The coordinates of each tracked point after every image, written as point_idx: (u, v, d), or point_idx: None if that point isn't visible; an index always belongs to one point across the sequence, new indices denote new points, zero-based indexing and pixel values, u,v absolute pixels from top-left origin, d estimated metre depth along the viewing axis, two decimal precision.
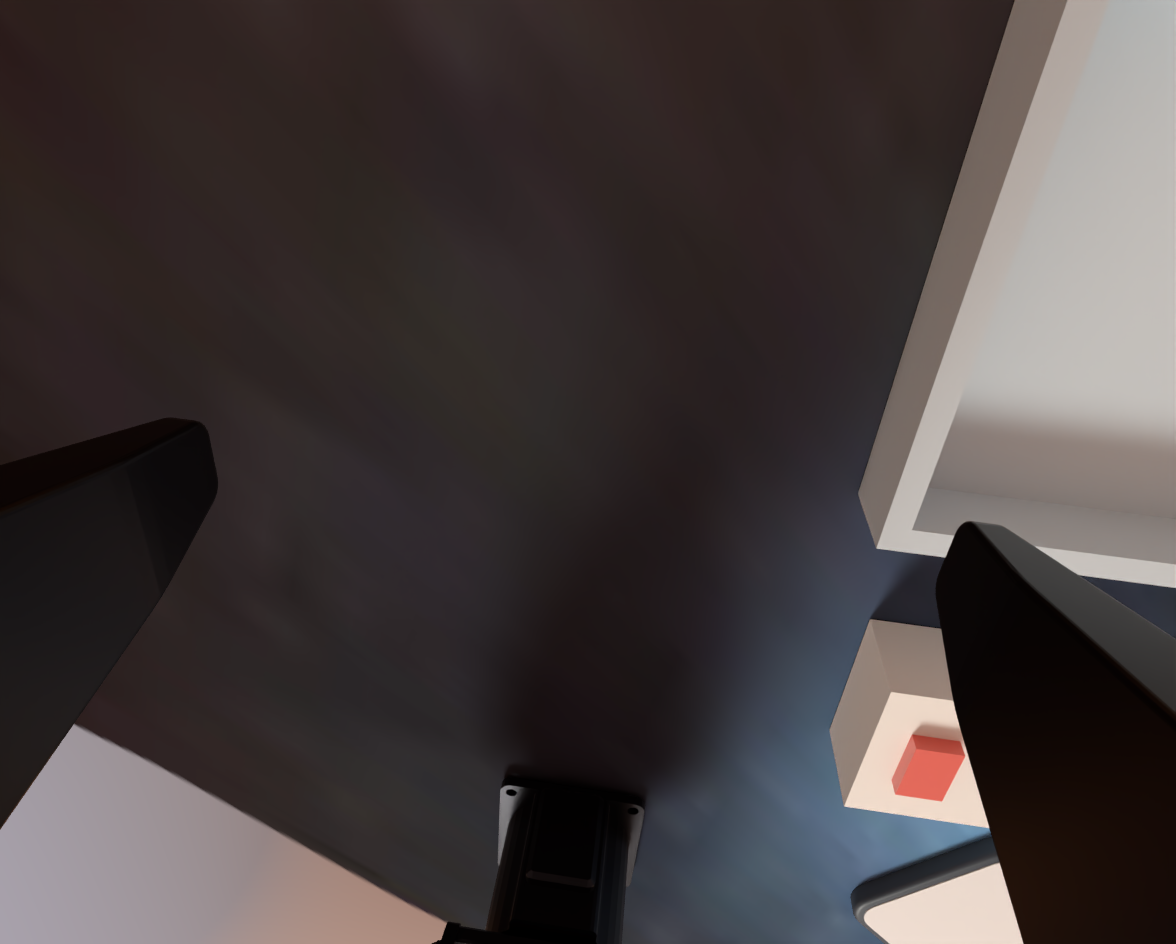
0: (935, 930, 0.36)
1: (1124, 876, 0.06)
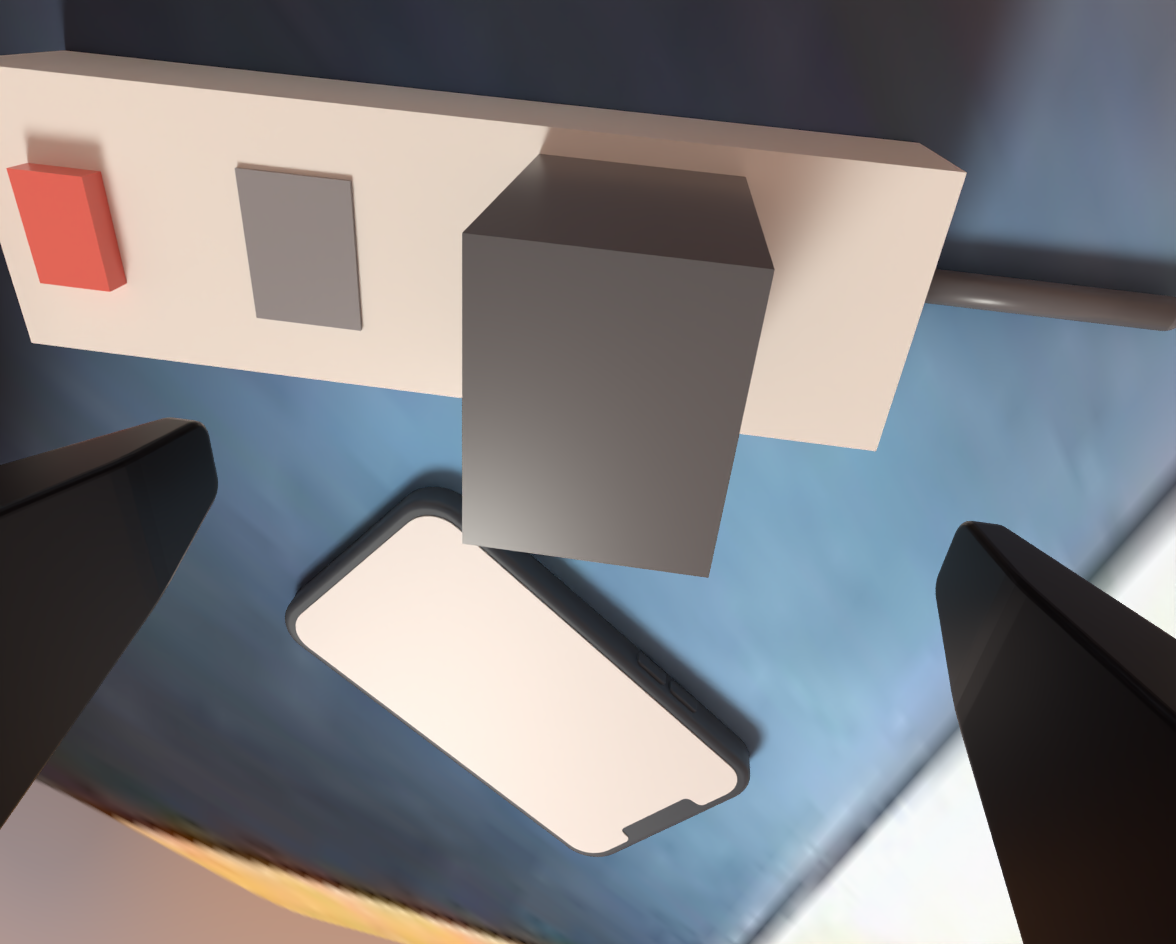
0: (393, 649, 0.26)
1: (1124, 876, 0.06)
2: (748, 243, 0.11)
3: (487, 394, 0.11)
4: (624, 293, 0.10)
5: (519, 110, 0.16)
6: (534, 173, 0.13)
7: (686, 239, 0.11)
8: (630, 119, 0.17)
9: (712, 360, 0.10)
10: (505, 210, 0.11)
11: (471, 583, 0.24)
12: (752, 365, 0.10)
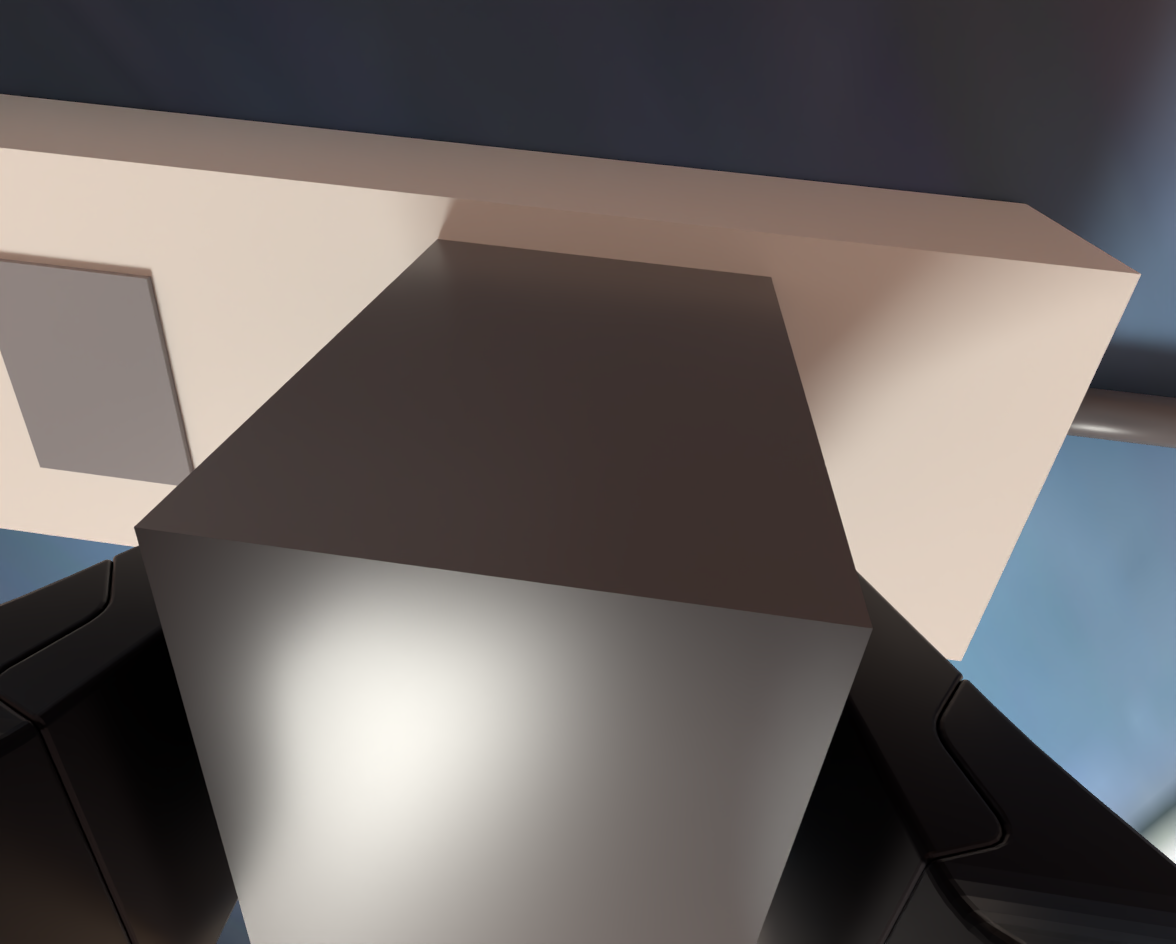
0: None
1: (799, 827, 0.06)
2: (797, 502, 0.05)
3: (258, 795, 0.05)
4: (517, 653, 0.04)
5: (419, 162, 0.11)
6: (407, 291, 0.08)
7: (664, 499, 0.05)
8: (591, 174, 0.11)
9: (720, 775, 0.05)
10: (293, 417, 0.05)
11: None
12: (810, 790, 0.05)
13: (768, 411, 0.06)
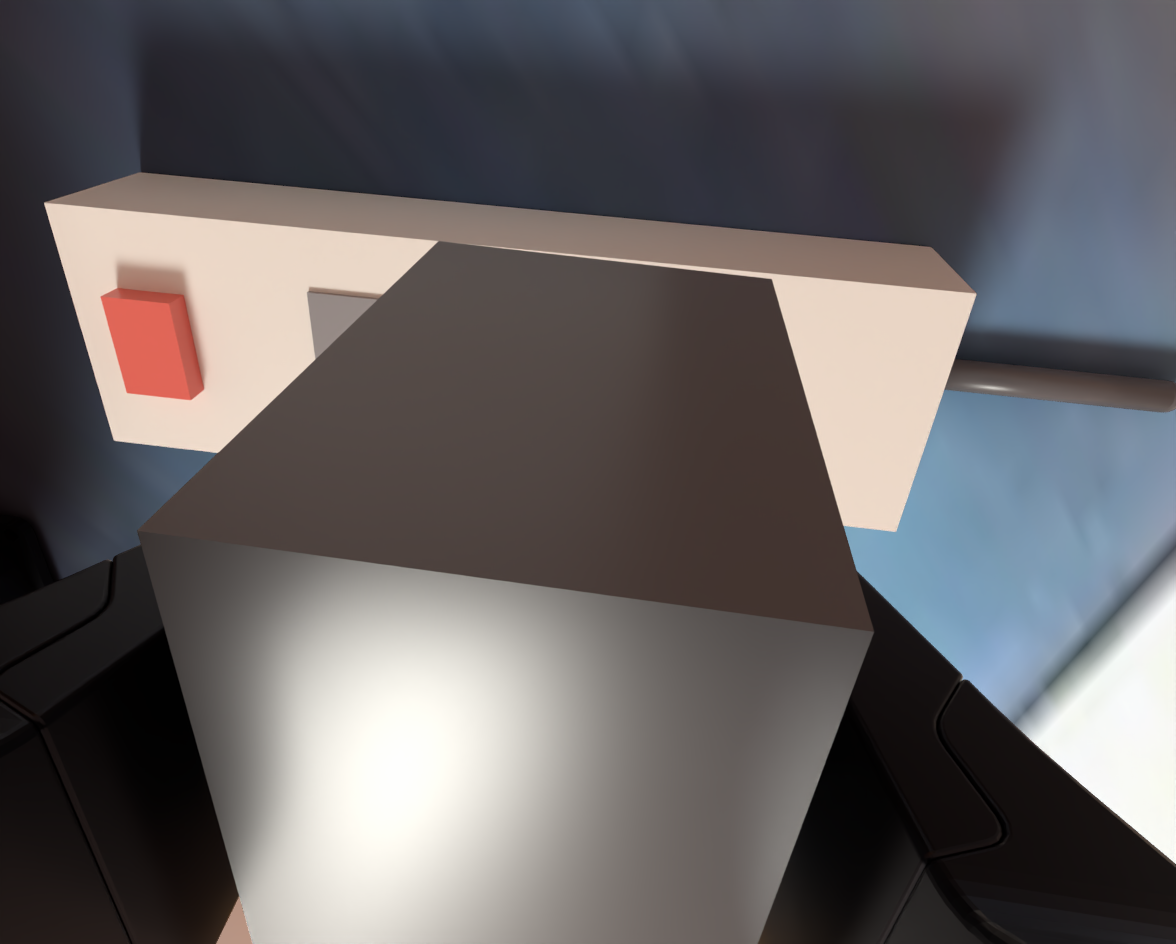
0: None
1: None
2: (798, 506, 0.05)
3: (260, 798, 0.05)
4: (519, 658, 0.04)
5: (563, 231, 0.18)
6: (409, 293, 0.08)
7: (665, 503, 0.05)
8: (664, 235, 0.18)
9: (721, 776, 0.05)
10: (296, 420, 0.05)
11: None
12: (811, 793, 0.05)
13: (769, 414, 0.06)
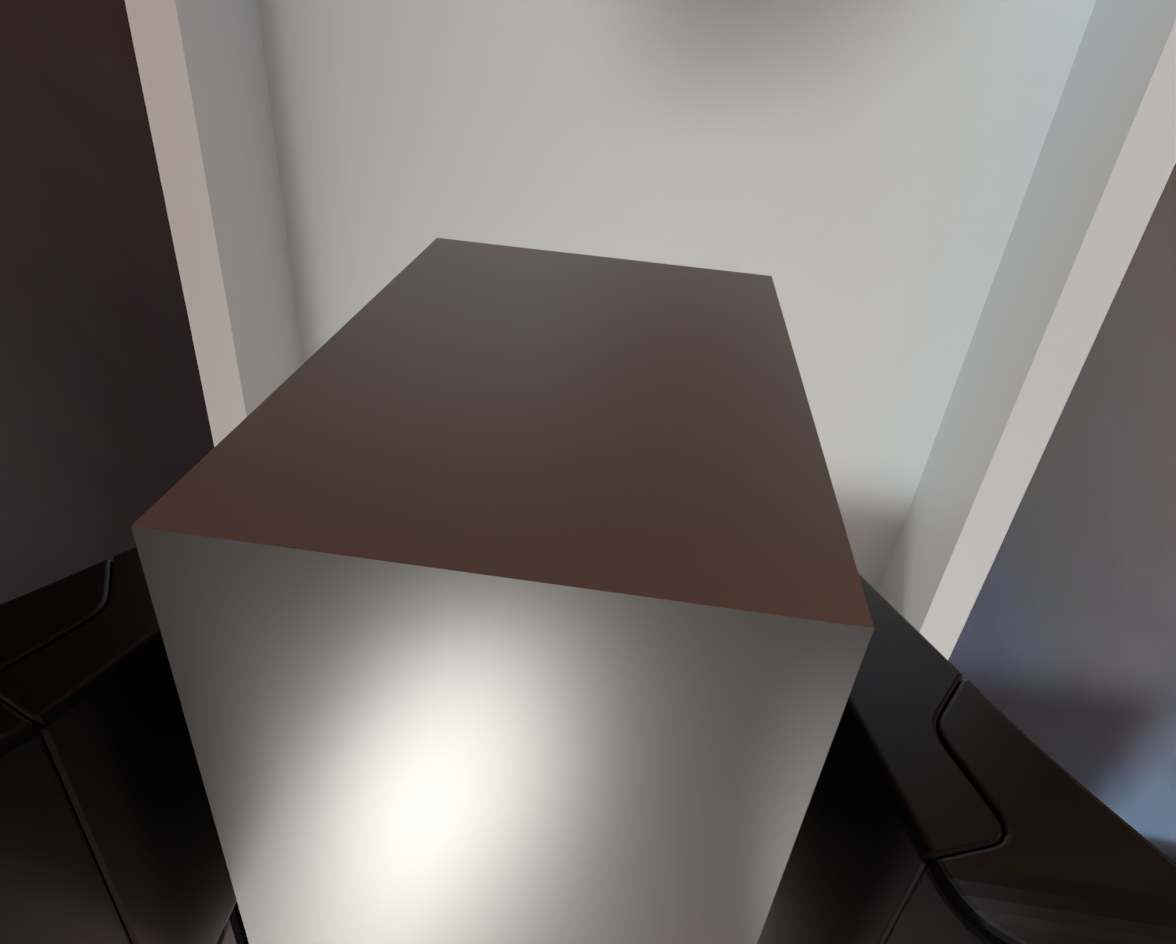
0: None
1: None
2: (797, 502, 0.05)
3: (256, 796, 0.05)
4: (517, 654, 0.04)
5: None
6: (406, 289, 0.08)
7: (663, 499, 0.05)
8: None
9: (720, 773, 0.05)
10: (292, 416, 0.05)
11: None
12: (810, 791, 0.05)
13: (768, 410, 0.06)
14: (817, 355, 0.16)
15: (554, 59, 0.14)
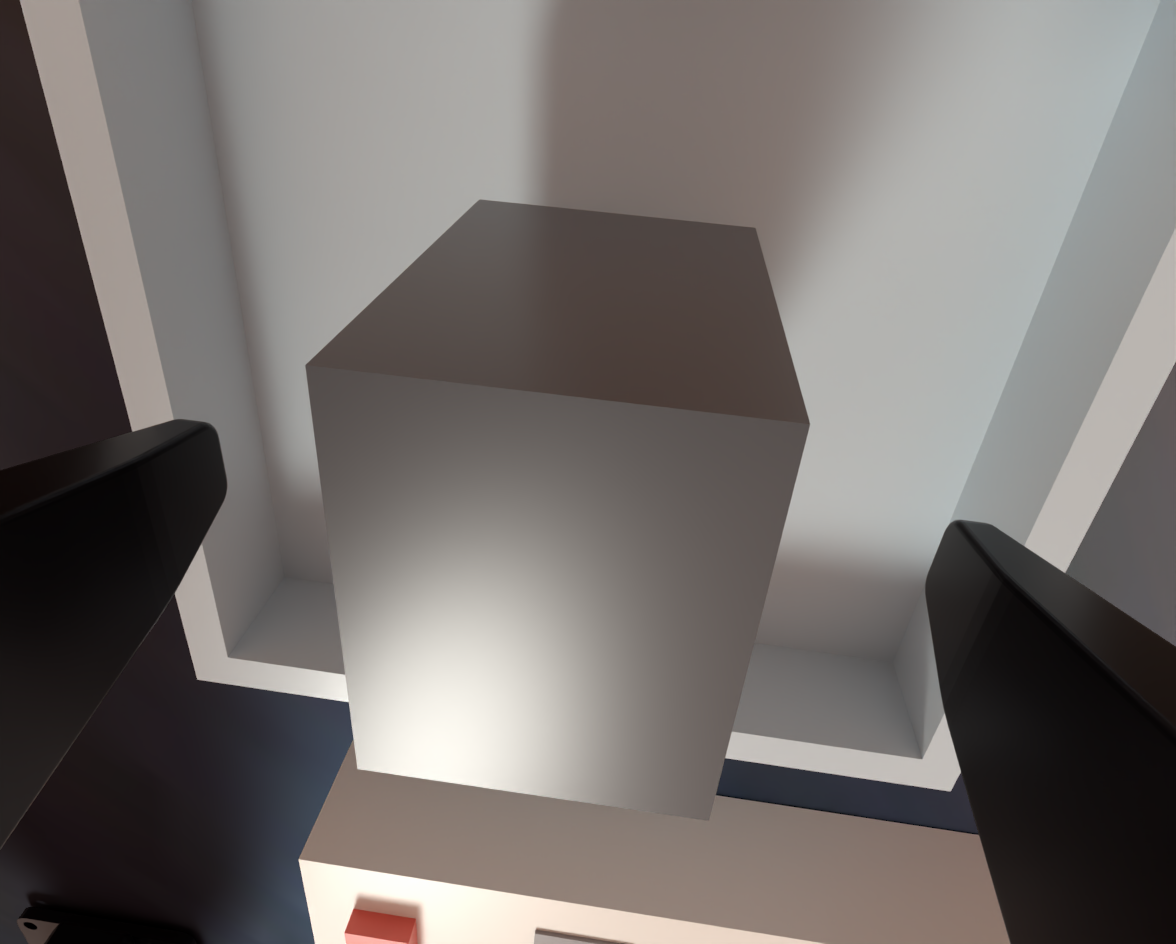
0: None
1: (1106, 873, 0.06)
2: (764, 362, 0.07)
3: (371, 588, 0.07)
4: (567, 456, 0.06)
5: (765, 863, 0.19)
6: (462, 234, 0.10)
7: (668, 359, 0.07)
8: (855, 859, 0.20)
9: (709, 550, 0.07)
10: (395, 309, 0.07)
11: None
12: (773, 559, 0.07)
13: (747, 312, 0.08)
14: (830, 403, 0.14)
15: (531, 74, 0.12)
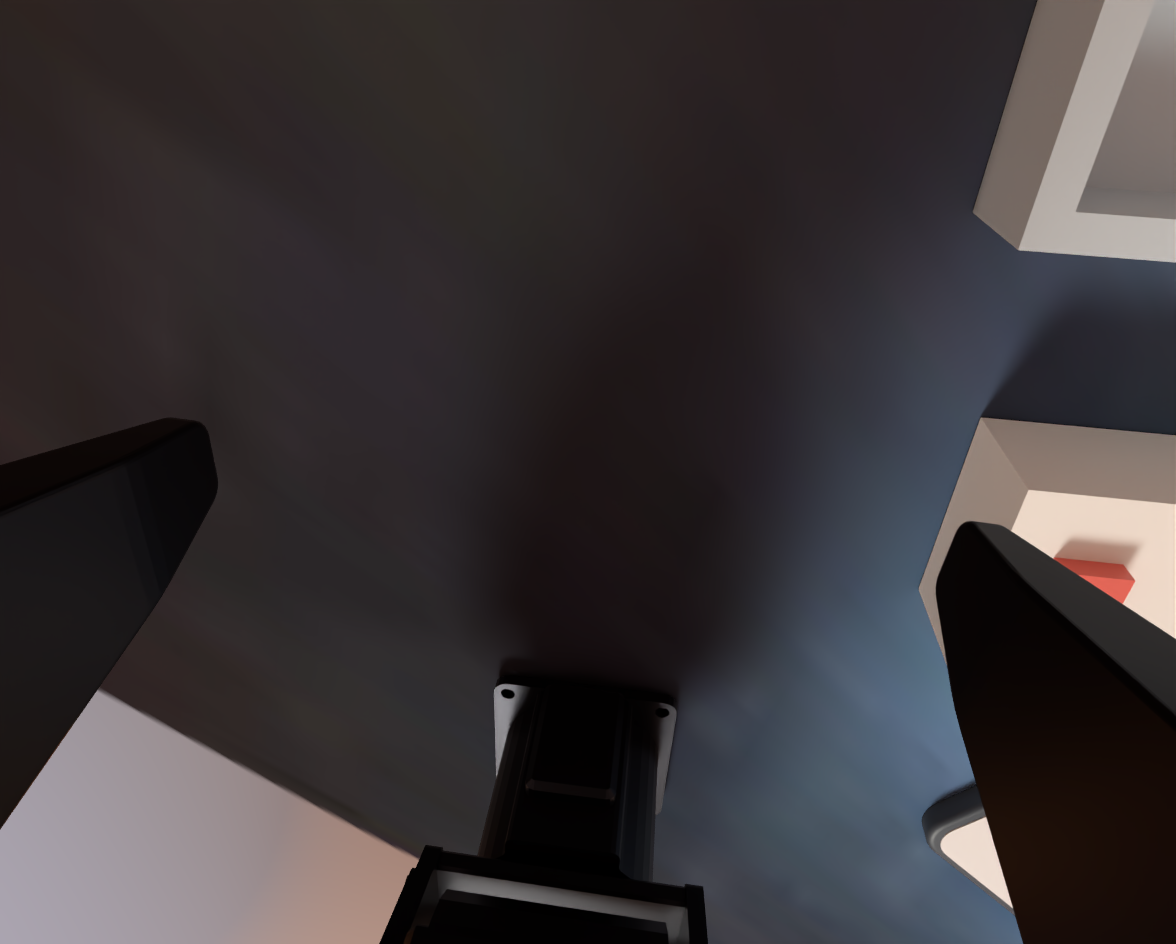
0: None
1: (1123, 876, 0.06)
2: None
3: None
4: None
5: None
6: None
7: None
8: None
9: None
10: None
11: None
12: None
13: None
14: None
15: None
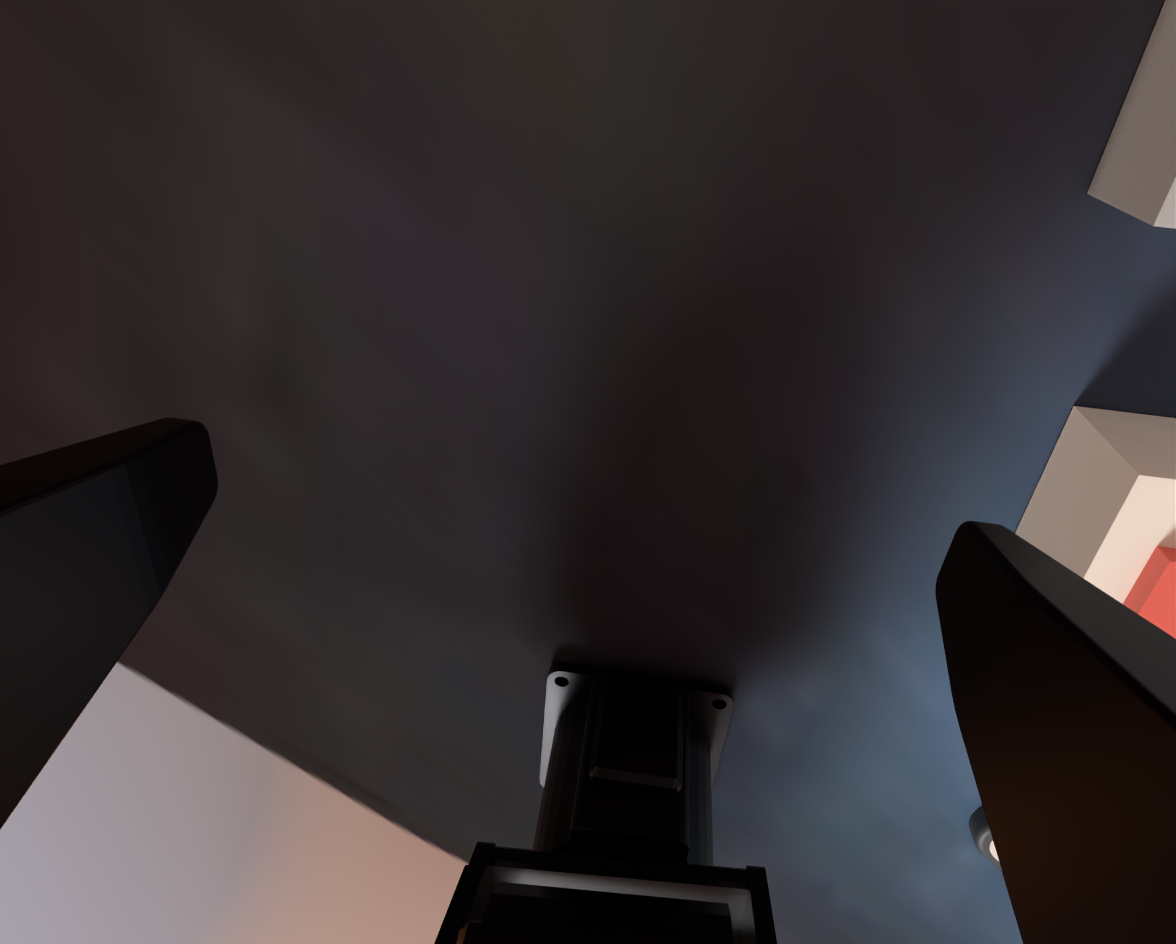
0: None
1: (1123, 876, 0.06)
2: None
3: None
4: None
5: None
6: None
7: None
8: None
9: None
10: None
11: None
12: None
13: None
14: None
15: None
